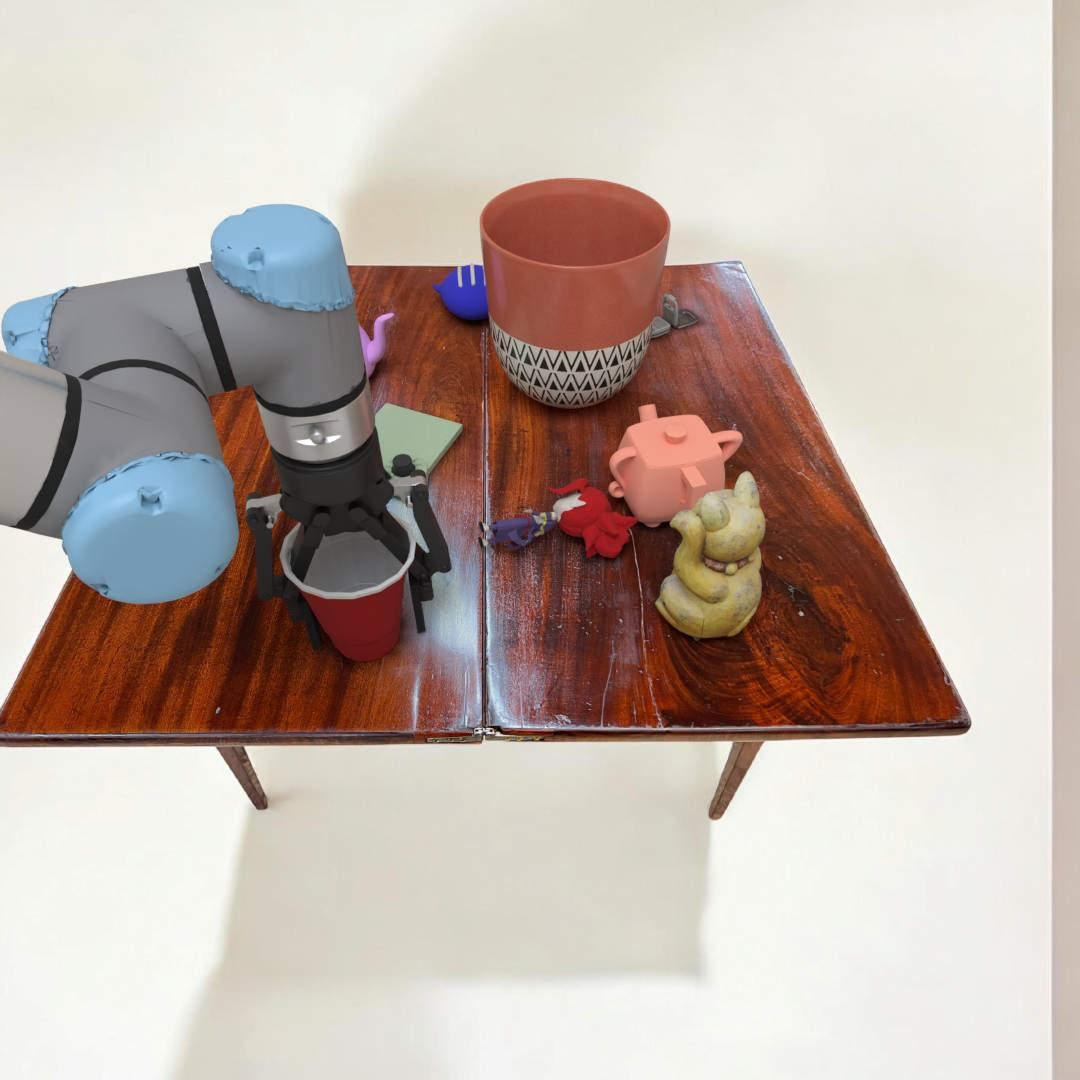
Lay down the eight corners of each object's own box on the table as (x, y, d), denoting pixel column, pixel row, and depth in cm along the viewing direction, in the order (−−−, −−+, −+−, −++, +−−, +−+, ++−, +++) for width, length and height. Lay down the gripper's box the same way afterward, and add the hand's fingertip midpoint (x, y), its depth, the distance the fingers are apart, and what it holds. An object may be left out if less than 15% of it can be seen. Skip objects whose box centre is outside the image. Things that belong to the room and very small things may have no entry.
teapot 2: (637, 449, 95) (645, 377, 88) (737, 488, 91) (753, 416, 84) (585, 511, 88) (589, 438, 81) (690, 556, 84) (704, 483, 77)
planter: (526, 460, 94) (525, 284, 78) (463, 365, 106) (451, 196, 90) (680, 416, 99) (707, 243, 84) (603, 330, 111) (615, 165, 96)
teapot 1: (403, 376, 104) (394, 312, 98) (302, 421, 98) (285, 356, 92) (352, 333, 111) (341, 271, 104) (254, 373, 105) (236, 309, 98)
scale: (414, 507, 89) (412, 489, 87) (324, 478, 92) (320, 461, 90) (471, 432, 97) (470, 415, 95) (386, 408, 100) (384, 391, 98)
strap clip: (648, 341, 110) (651, 311, 107) (634, 329, 112) (637, 300, 109) (700, 322, 113) (705, 293, 110) (686, 311, 115) (690, 282, 112)
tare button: (407, 479, 88) (405, 468, 87) (390, 474, 89) (388, 463, 88) (416, 467, 90) (415, 456, 89) (400, 462, 90) (398, 451, 89)
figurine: (471, 525, 86) (611, 496, 89) (493, 597, 82) (638, 564, 85) (472, 489, 80) (620, 459, 84) (495, 564, 76) (650, 530, 80)
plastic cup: (453, 620, 78) (442, 530, 70) (376, 705, 72) (354, 617, 64) (363, 572, 82) (342, 481, 74) (283, 649, 76) (250, 559, 68)
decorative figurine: (708, 563, 83) (734, 446, 73) (777, 612, 79) (815, 495, 68) (641, 616, 79) (658, 499, 68) (710, 671, 75) (740, 555, 64)
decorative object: (438, 242, 114) (512, 255, 114) (436, 281, 118) (508, 293, 118) (424, 286, 107) (504, 300, 107) (423, 325, 111) (499, 338, 112)
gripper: (161, 489, 56) (246, 683, 73) (480, 447, 59) (492, 642, 76) (171, 419, 61) (248, 615, 78) (464, 383, 64) (479, 579, 81)
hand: (369, 628), depth 77 cm, fingers closed on plastic cup, 8 cm apart
